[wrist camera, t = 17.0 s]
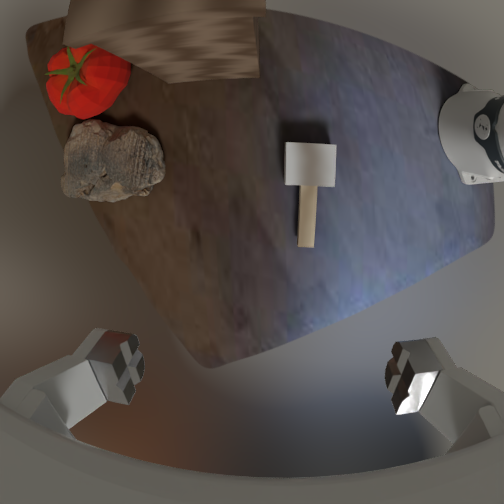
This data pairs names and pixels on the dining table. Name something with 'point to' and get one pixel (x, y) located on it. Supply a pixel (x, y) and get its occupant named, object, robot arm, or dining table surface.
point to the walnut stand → (173, 35)
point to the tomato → (86, 80)
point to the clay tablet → (110, 162)
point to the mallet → (308, 181)
